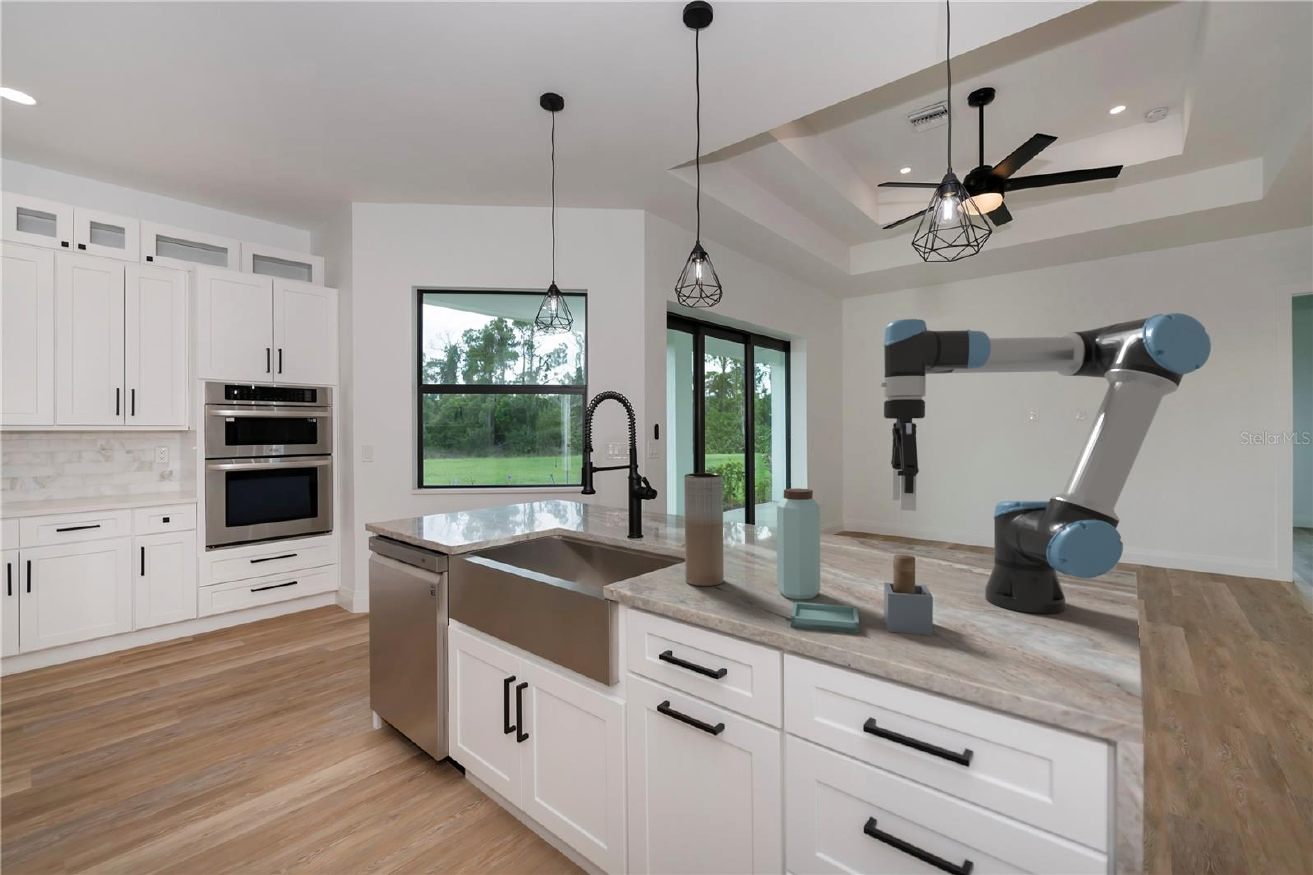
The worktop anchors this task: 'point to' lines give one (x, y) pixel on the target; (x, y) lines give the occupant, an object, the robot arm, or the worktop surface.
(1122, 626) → the worktop surface
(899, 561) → the dowel
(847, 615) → the tray
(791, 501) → the water bottle
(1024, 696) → the worktop surface
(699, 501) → the vase
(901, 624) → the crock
